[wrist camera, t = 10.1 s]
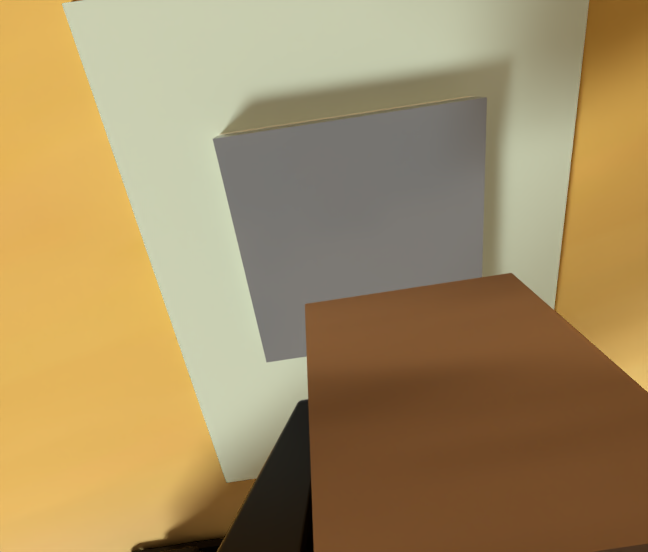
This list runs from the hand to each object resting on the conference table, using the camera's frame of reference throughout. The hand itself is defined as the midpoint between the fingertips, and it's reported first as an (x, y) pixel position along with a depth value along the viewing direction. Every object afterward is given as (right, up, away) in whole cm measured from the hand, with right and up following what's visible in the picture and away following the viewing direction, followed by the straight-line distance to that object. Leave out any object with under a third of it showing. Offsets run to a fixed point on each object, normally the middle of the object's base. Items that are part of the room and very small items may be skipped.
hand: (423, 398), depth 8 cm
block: (0, 0, +1) cm, 1 cm away
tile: (-5, +3, +8) cm, 10 cm away
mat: (0, +3, +10) cm, 10 cm away
